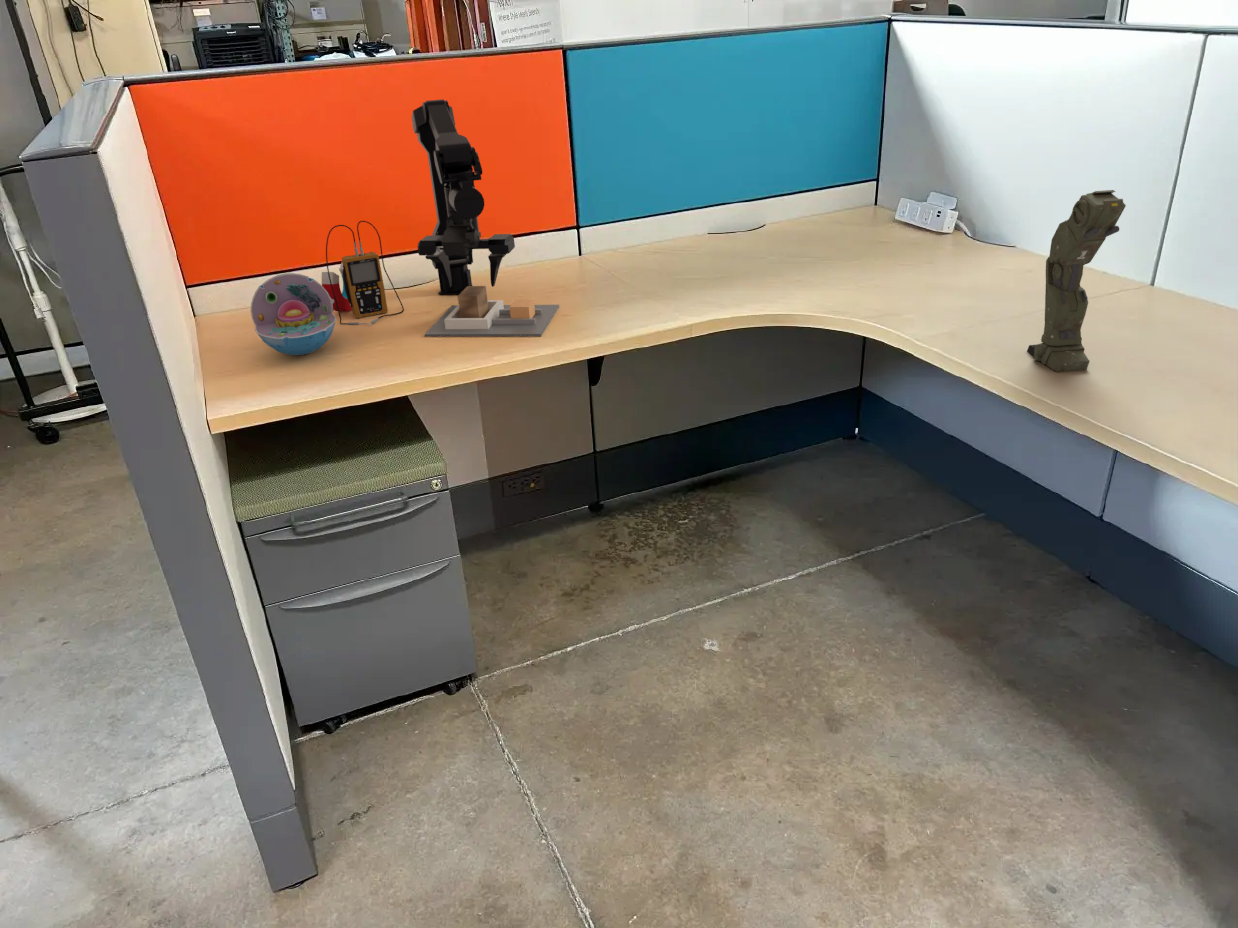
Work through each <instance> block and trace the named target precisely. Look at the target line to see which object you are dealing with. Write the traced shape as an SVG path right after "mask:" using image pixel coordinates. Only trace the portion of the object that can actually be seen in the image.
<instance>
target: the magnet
mask: <svg viewBox="0 0 1238 928" xmlns="http://www.w3.org/2000/svg"><path fill="white" fill-rule="evenodd" d="M338 269H339V272H340V275H341V279H342V291H341V286H340V275H339V274H337V273H336V272H334V271H329V275H330V279H331V283H332V287H333V290H334V294H335V298H336V301H337V305H338V308H339V312H343V313H345V312H348V313H349V312H352V308H351V306H350V303H349V301H348V299H347V295H346V291H345V286H344V281H343V263H342V262H341V263H340V266H339V268H338ZM321 285H322V286H323V287H324V289H325V290H326V291H327V292H328V294H329V296H330V298H331V299H333V300H334V303H333V312H338V309H337V305H336V302H335V298H334V295H333V291H332V288H331V284H330V280H329V276H328V271H321ZM339 312H338V313H339Z"/></svg>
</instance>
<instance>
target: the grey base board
mask: <svg viewBox="0 0 1238 928" xmlns="http://www.w3.org/2000/svg"><path fill="white" fill-rule="evenodd" d="M487 300H488V309H489V312H488V313H487V315H486V316H485V317H484V318H461V317H460V309H459V304H453V305H451V306H449V308H448V309H446V311H445V312H444V313H443V314H442V315H441V316H440V317H439V318H438V320H436V321H435V323H434V324H432V325H431V327H429V329H427V331H425V332H424V337H427V338H428V337H429V338H430V337H433V338H434V337H437V338H438V337H442V338H443V337H448V338H449V337H457V338H458V337H459V338H460V337H462V338H463V337H465V338H466V337H468V338H469V337H542V336H543V334H544V333H545V331H546V329H547V328H548V326H549V324H550V323H551V320H552V319H553V318H554V316H555V314H556V313H557V312H558V309H559V308H560V304H534V305H535V315H534V316H533V318H511V315H510V306H511V305H512V304H504V300H503V299H500V300H499V299H497V300H496V299H492V300H491V299H490V300H489V299H487Z"/></svg>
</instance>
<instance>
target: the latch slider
mask: <svg viewBox="0 0 1238 928" xmlns="http://www.w3.org/2000/svg"><path fill="white" fill-rule="evenodd" d="M510 305H511V306H510V315H511V318H533V316H534V315H535V305H536V304H535V299H515V300H514V301H513V302H512V304H510Z"/></svg>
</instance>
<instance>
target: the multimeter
mask: <svg viewBox="0 0 1238 928" xmlns="http://www.w3.org/2000/svg"><path fill="white" fill-rule="evenodd" d="M361 223H367V224H369V225H370V226H372V227H373V229H374V230H375V231H376V234H377V236H378V239H379V246H380V247H379V248H380V256H381V262H382V266H383V267H382V268H383V270H384V272H385V275H386V276H387V278H388V280H389V282H390V284H391V287H392V288H393V291H394V293H395V295H396V297H397V300H398V301H399V303H400V306H401V308H402V310H401V311H399V312H396V313H391V314H387V313H388V311H389V309H388V305H387V298H386V290H385V285H384V279H383V274H382V268H381V262H380V256H379V254H378V253H376V252H374V251H369V252H364V249H363V247H362V241H361V236H360V232H359V225H360V224H361ZM338 227H345V228H347V229H348V230H350V232H351V233H352V237H353V244H354V253H355V254H352V255H345V256H344V255H343V257H341V263H343V279H342V282H343V281H344V286H345V291H346V295H347V299H348V301H349V303H350V306H351V308H352V310H351V312H352V315H353V316H354V318H356V319H362V318H364V317H369V316H375V315H381V314H382V315H381V316H379V317H377V318H375V319H374V320H372V321H370V323H369V324H368V322H356V321H355V322H353V321H351V322H342V317H341V313H340V312H339V308H338V305H337V301H336V298H335V294H334V290H333V287H332V283H331V279H330V275H329V272H330V270H329V264H328V263H329V262H328V245H329V238H330V234H331V232H332V231H333V229H335V228H338ZM356 229H357V237H358V243H359V249H358V247H357V246H358V245H357V242H356V237H355V233H354V231H353V229H351V227H349V226H348V225H345V224H337V225H334V226H332V228H330V230H329V232H328V234H327V237H326V244H325V261H326V269H327V272H328V276H329V280H330V284H331V288H332V291H333V295H334V298H335V302H336V305H337V309H338V311H337V312H338V315H339V325H349V326H352V325H355V326H356V325H357V326H359V325H366V324H368V325H367V326H368V327H369V326H371V325H374V324H375V323H376V322H378V321H379V319H380V318H383V317H388V316H396V315H399V314H402V313H404V310H405V307H404V306H403V303H402V301H401V299H400V296H399V295H398V292H397V291H396V288H395V287H394V285H393V282H392V280H391V278H390V276H389V275H388V272H387V270H386V267H385V264H384V257H383V256H384V255H383V247H382V241H381V236H380V234H379V232H378V229H377V228H376V227H375V226H374V225H373V224H372V223H371V222H369V221H366V220H360V221H358V223H357V226H356ZM359 251H360V252H359Z"/></svg>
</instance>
